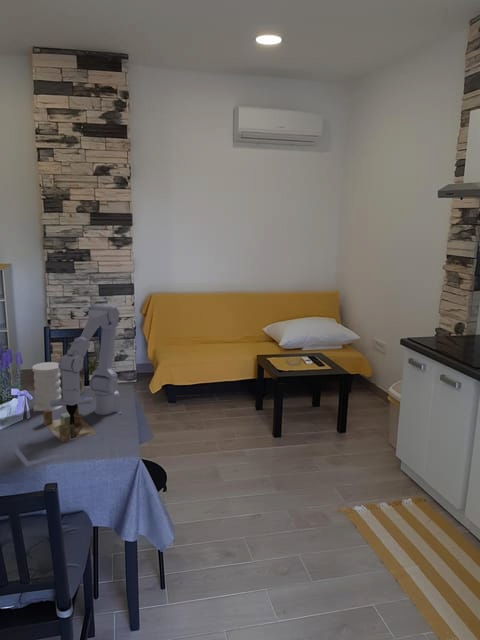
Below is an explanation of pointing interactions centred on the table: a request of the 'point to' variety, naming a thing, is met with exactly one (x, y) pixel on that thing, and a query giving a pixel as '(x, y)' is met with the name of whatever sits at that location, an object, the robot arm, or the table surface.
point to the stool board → (57, 430)
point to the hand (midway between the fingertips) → (72, 423)
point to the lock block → (65, 419)
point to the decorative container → (46, 385)
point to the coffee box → (81, 374)
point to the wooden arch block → (78, 423)
